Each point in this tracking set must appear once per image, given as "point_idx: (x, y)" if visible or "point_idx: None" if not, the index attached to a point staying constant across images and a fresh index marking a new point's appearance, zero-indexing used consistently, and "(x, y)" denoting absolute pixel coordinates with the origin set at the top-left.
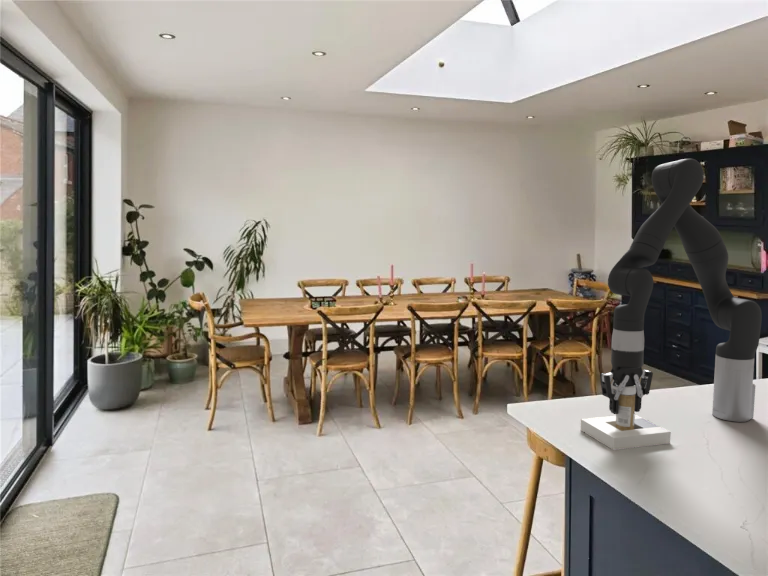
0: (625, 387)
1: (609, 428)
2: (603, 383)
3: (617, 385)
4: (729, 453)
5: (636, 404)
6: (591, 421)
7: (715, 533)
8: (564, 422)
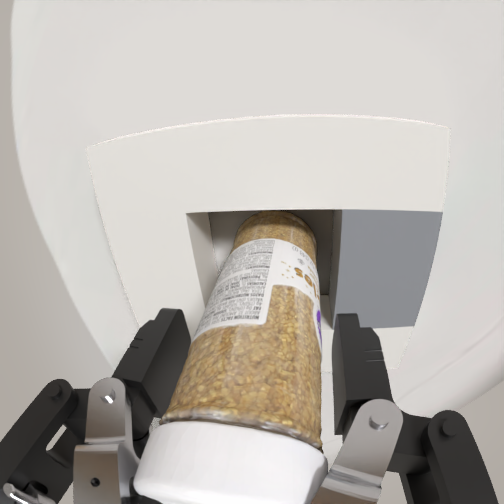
0: None
1: (170, 292)
2: (17, 461)
3: (135, 489)
4: (448, 391)
5: (334, 384)
6: (120, 189)
7: None
8: (96, 38)
